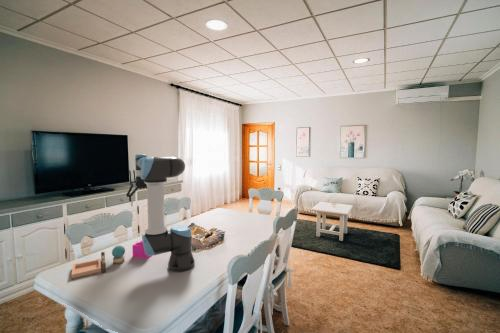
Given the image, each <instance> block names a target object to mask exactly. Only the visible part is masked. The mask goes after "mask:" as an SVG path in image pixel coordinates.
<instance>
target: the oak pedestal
mask: <svg viewBox="0 0 500 333" xmlns="http://www.w3.org/2000/svg"><path fill="white" fill-rule="evenodd" d="M112 261H113V264H114V265H121V264H124V262H125V254H124V255H123V256H122V257H120V258H115V257H114V256H113V258H112Z"/></svg>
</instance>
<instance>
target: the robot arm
mask: <svg viewBox="0 0 500 333" xmlns="http://www.w3.org/2000/svg"><path fill="white" fill-rule="evenodd" d="M147 156H148V155H147V154H144V153H138V154H135V156H134V162H135V163H134V164H135V182H131V183H130V186H129V189H127V192H126V197H127V198H129V199H128V200H129V203H130V206H131V207H133V205H134V204H133V195H134V194H135V193H136V192H137V191H138V189H139V190H141V189H146V193H147V200H146V201H147V228H146V230H145V231H144V234H143V235H142V236H141V241H142V242H143V247H144V251H145V253H146V255H147V256H150V257H151V256H156V255H160V254H166V253H170V256H169V258H168V263H167V268H168V270H169V271H171V272H176V273H179V272H182V273H183V272H186V271H188V270H191V269H192V268H193V267H194V266H195V258H194V255H193V252H192V236H193V234H192V230H191V228H190V227H189V226H186V225H185V226H184V225H173V226H171V227H170V230H168V228H167V227H166V226H165V184H166V183H167V179H169V178H176V177H179V176H180V175H182V174H183V173H184V171H185V169H186V163H185V162H184V160H183V159H181V158H179V157H176V156H148V157H147ZM134 186H136V187H134ZM133 187H134V189H133ZM132 189H133V191H132ZM131 191H132V192H131Z"/></svg>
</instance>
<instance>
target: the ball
mask: <svg viewBox="0 0 500 333" xmlns="http://www.w3.org/2000/svg"><path fill="white" fill-rule="evenodd" d="M125 253H126V249H125V246H122V245H117V246H114V247H113V249H112V251H111V254H112V256H113V258H114V257H115V258H120V257H122V256H123V255H124V256H125Z"/></svg>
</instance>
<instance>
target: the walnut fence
mask: <svg viewBox="0 0 500 333" xmlns="http://www.w3.org/2000/svg"><path fill="white" fill-rule="evenodd" d="M105 252H106V251H101V253H100V256H101V258H100V259H101V273H103V274H105V273H107V267H106V266H107V264H106V263H107V262H105V261H106V258H105V257H106V254H105Z"/></svg>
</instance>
